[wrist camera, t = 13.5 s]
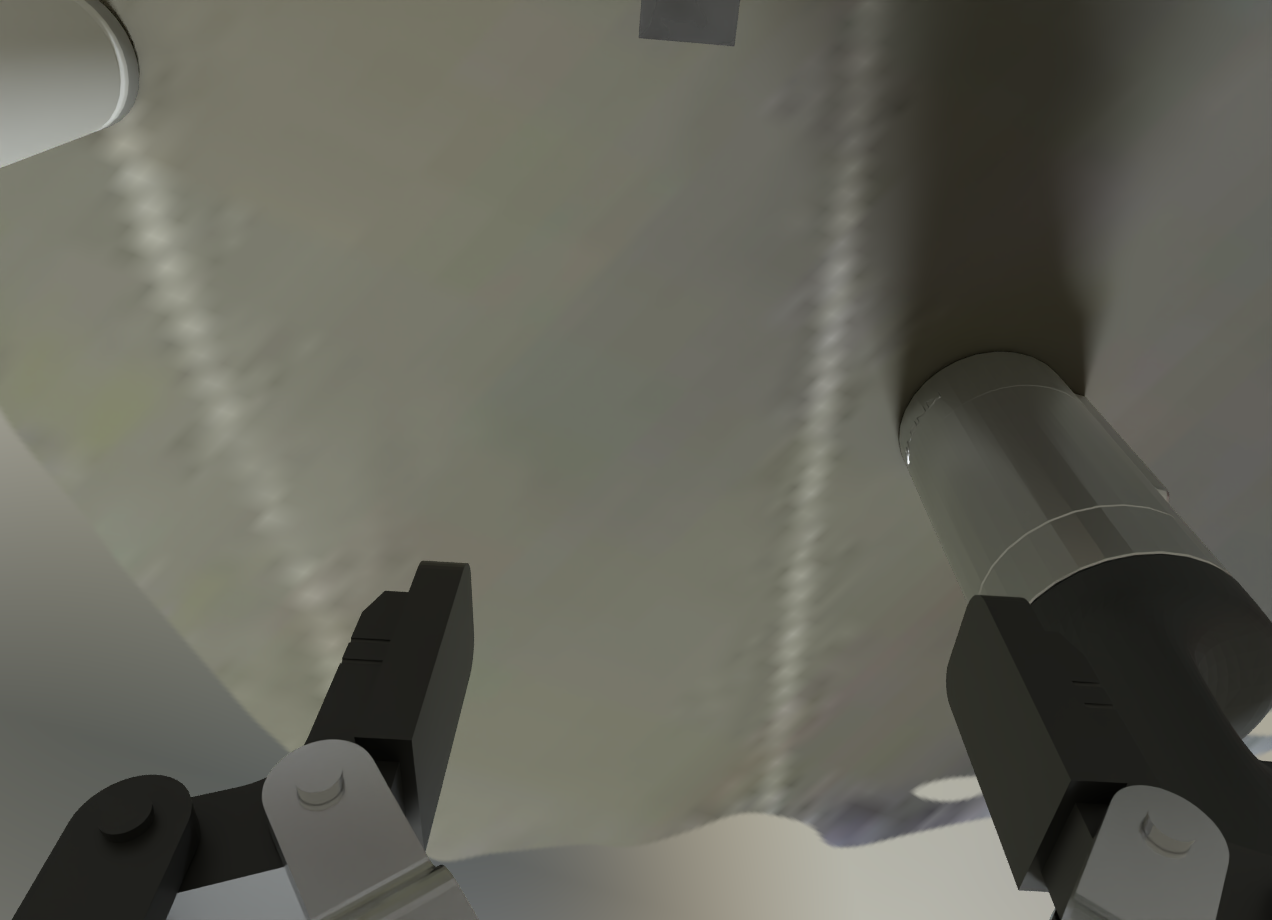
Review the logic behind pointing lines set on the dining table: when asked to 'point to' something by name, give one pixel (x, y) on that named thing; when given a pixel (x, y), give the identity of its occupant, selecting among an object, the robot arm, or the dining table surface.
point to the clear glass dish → (690, 21)
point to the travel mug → (60, 74)
